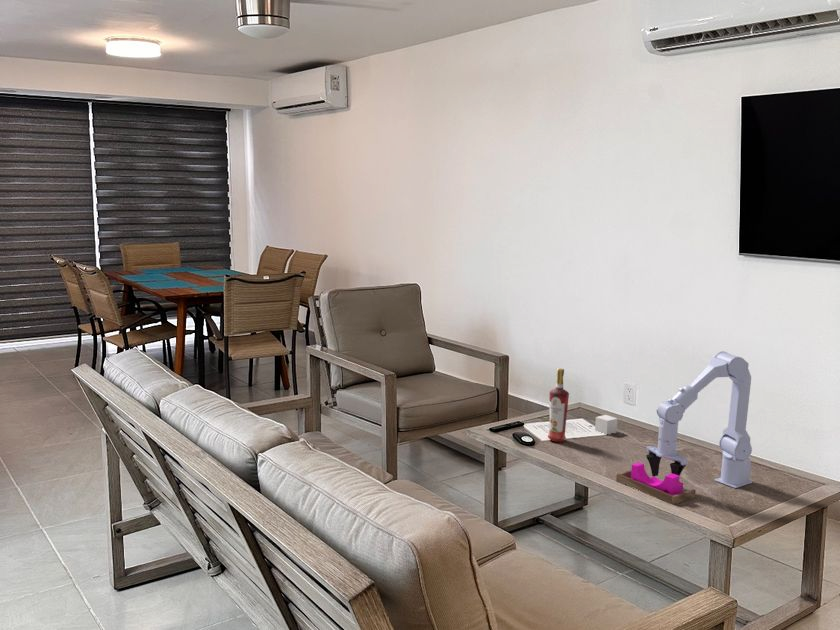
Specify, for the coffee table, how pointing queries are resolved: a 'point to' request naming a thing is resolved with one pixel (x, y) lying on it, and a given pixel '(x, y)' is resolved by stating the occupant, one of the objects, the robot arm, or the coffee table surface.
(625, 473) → the tray
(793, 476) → the coffee table surface
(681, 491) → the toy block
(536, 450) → the coffee table surface
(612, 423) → the white cube
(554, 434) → the liquor
